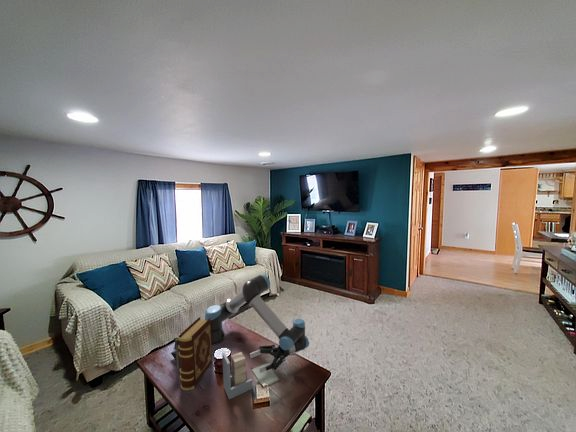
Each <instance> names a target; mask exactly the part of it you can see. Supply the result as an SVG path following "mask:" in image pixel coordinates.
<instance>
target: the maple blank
mask: <svg viewBox="0 0 576 432" xmlns="http://www.w3.org/2000/svg"><path fill="white" fill-rule="evenodd" d="M246 370H247V369H246V357H245V355H244V354H243V352H242V351H239V352H238V353H234V354H231V355H230V372H231V375H232V385H231V388H232V387H234V386H236V385H238V384H241V383H243V382H245V381H247V379H246Z"/></svg>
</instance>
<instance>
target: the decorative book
mask: <svg viewBox="0 0 576 432" xmlns="http://www.w3.org/2000/svg"><path fill="white" fill-rule="evenodd" d="M177 338H178V340H179V346H178V348H179V350H180V352H179V356H180V367H181V368H180V369H179V372H180V376H179V379H180V382H181V384H180V388H181V390H183V391H187V392H188V391H192V390H194V389H195V386H197V385H198V383H199V381H200V380H201V379H202V377H204V375H205V374H206V372H207V370H208V369H209V368H210V366H212V363H213V348H212V347H213V345H212V341H211V321H210V318H209V319H208V320H205V319H201V316H199V317H198V318H197V319H195V320H194V321H193V322H192V323H191V324H190V325H189V326H188V327H187V328H185V330H183V332H181V333H180V334H179V335H177Z"/></svg>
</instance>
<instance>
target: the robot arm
mask: <svg viewBox="0 0 576 432" xmlns="http://www.w3.org/2000/svg"><path fill="white" fill-rule="evenodd" d="M270 287H271V281H270V279H269V277H268V276H267V275H266V274H264V273H263V274H259V275H257V276H255V277H253V278H251V279H249V280H246V282H244V284H243V285H242V289H241V291H240V292H239V293H237V294H236V295H235V296H234V297H231V298H228V299H227V300H226V301H223V303H221V304H214V305H211V306H209V307H208V308H206V309H205V313H204V320H208V319H209V318H210V321H211V341H212V346H215V345H218V344H220V343H222V342H223V341H224V340H225V338H226V332H225V330H224V329H223V322H224V321H226V320H228V319H229V318H231V317H232V316H234V315H236V314H237V313H238V312H239V310H240V307H242V306H244V305H245V304H247V305H248V306H249V307H252V309H253V310H254V311H255V312H256V313H257V315H258V316H259V317H260V318H261V319H262V320H263V322H264V323H265V324H266V325H267V327H269V329H270V330H271V331H272V332H273V333H274V334H275V335H276V337H277V338H278V339H279V340H278V346H277V347H276V345H275V344H272V345H271V344H270V345H260V346H258V347H259V348H258V349H257V350H255V351H252V352H250V353H249V358H250V359H252V358H255V357H258V356H259V355H261V354H266V355H270V356H272V357H273V360H272V362H269V363H267V365H264V366H262V367H260V373H261V372H264V371H266V370H270V369H272V370H273V371H277V369H278V368H280V366H281V365H282V364H283V363H284V362H286V358H287V357H289V356H291V355H294V354H296V353H299V352H301V351H304V350H305V349H308V347H309V346H310V341H309V338H308V336H307V335H306V322H305V320H304V319H302V318H296V319H294V320H293V322H292V327H290V328H288V327H287V326H286V325H285V324H284V323H283V322H282V320H281V319H280V318H279V317H278V316H277V314H276V313H274V311H273V310H272V309H271V308H270V307H269V305H268V304H267V303H266V302H265V300H263V298H262V297H261V294H262V295H263V293H264V292H266V291H268V290H269V289H270Z"/></svg>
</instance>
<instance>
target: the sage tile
mask: <svg viewBox="0 0 576 432" xmlns="http://www.w3.org/2000/svg"><path fill="white" fill-rule="evenodd" d="M267 364H268V363H267V362H265V363H263V364H261V365H259V366H257V367H254V368H252V369H251V372H252V373H253V375H254V376H255V378H256V380H257V381H258V382H259V384H260V385H261V384H263V383H266V384H268V386H270V385H272V384H274V383H276V382H278V381H279V380H280V379H279V377H278V376H277V374H276V373H275V372H274V370H273V369H270V370H266V371H264V372H261V373H260V367H262V366H264V365H267Z"/></svg>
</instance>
